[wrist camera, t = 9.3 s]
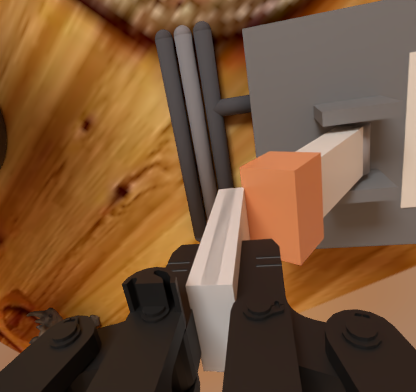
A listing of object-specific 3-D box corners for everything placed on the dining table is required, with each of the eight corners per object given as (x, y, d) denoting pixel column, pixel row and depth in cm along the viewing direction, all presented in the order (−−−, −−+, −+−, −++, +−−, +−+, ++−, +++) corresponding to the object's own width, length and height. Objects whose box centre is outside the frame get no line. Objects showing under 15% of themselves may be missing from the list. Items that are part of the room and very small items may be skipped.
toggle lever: (338, 172, 22) (250, 252, 14) (337, 114, 20) (239, 167, 13) (376, 175, 20) (301, 265, 13) (378, 112, 19) (294, 170, 11)
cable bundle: (197, 238, 33) (194, 245, 31) (156, 32, 26) (150, 30, 25) (275, 233, 31) (275, 240, 30) (253, 11, 24) (253, 8, 23)
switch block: (266, 218, 30) (267, 278, 22) (247, 37, 25) (237, 21, 16) (403, 208, 28) (464, 271, 19) (415, 4, 22) (511, -36, 14)
